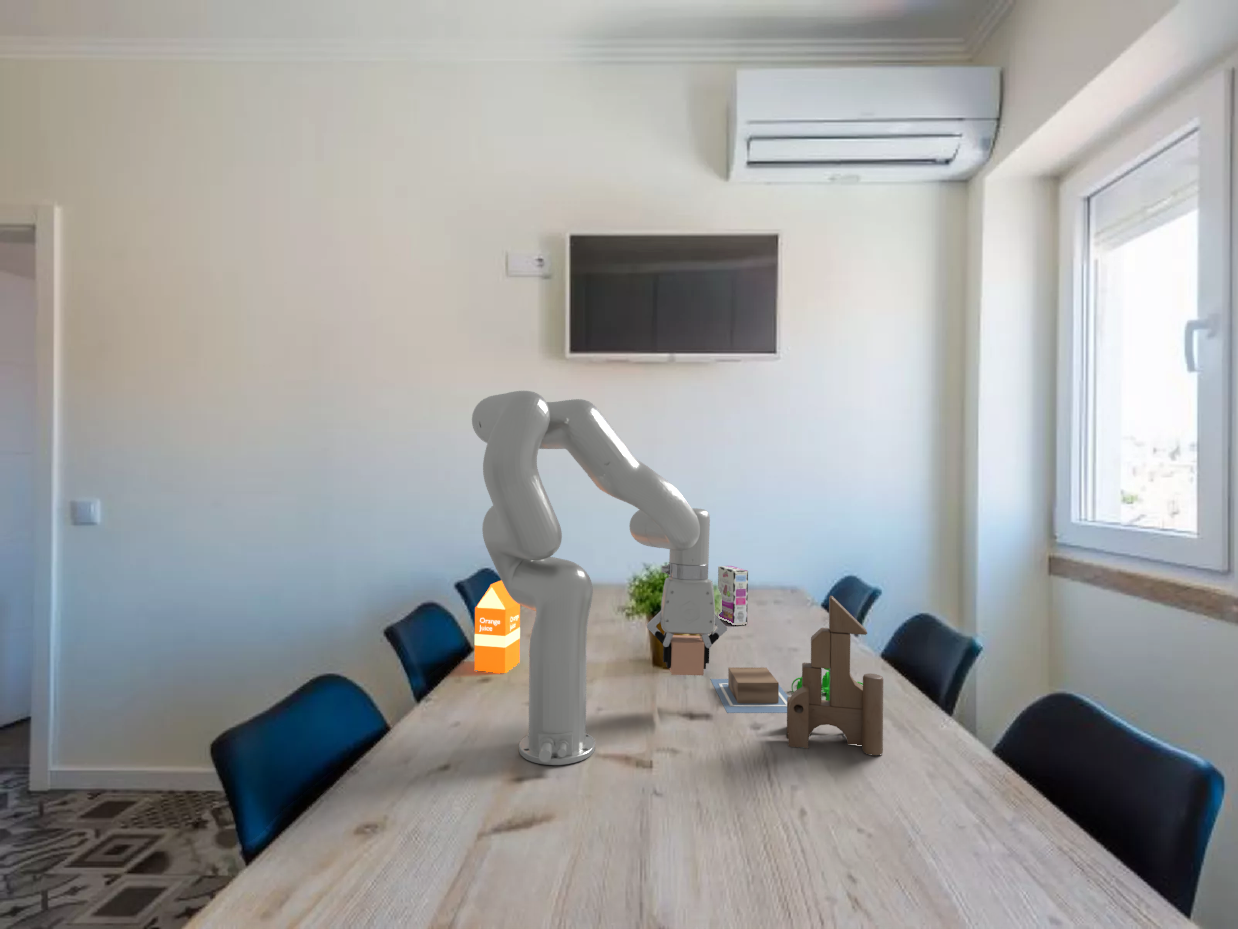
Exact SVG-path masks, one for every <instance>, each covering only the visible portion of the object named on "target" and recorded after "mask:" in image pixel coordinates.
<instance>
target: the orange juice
mask: <svg viewBox="0 0 1238 929" xmlns="http://www.w3.org/2000/svg"><path fill="white" fill-rule="evenodd" d="M520 626H521V605H519V604H518V603H516V602H515V601H514V600H513V599H512V598H511V597H510V595H509V594H508V592H507V590H506V589H505V587H504V585H503V582H502V580H501V579H500V580H498V581H496V582H493V583H491V584H490V585H489V587H488V589H487V591H486V592H485V594H484V595H483V596H482V598H481V599H480V601H479V602H478V603H477V605H476V606H475V607H474V671H475V670H478V671H486V672H485V673H488V672H493V673H492V674H500V673H506V674H507V673H508V672H509V670H510V671H511V670H512V669H514V668H515V667H516V666H518V665H519V664H520V662H521V661H520V656H521V655H520V651H521V650H520V646H521V645H520V643H521V642H520V640H521V627H520ZM518 663H519V664H518ZM517 664H518V665H517ZM513 667H514V668H513Z"/></svg>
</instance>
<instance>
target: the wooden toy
mask: <svg viewBox="0 0 1238 929" xmlns="http://www.w3.org/2000/svg"><path fill="white" fill-rule="evenodd" d="M828 603H829V604H828V606H829V607H828V627H820V628H819V629H818V630H817V631H816V632H815V633H814V634H813V635H811V637H810V662H802V664H801V672H802V673H801V677H802V687H801V688H799V689H798V690H797V689H796V690H795V691H793V693H792V694H791V696H788V698H787V713H786V738H787V740H788V745H787V746H788V747H790V748H799V747H804V748H803V749H809V740H810V736H811V733H812V732H813V731H814V730H815V729H816V728H818V727H820V726H827V725H829V726H833V727H836V728H837V729H839V731H841V732H842V733H843V735H844V737H845V738H846V742H847V745H848V744H857V745H862V747H861V748H862V750H861V751H862V752H863V751H864V752H865V753H867V754H872V755H880V754H882V755H883V752H884V677H883V676H882V675H880V674H877V673H865V674H863V676H862V683H863V685H862V684H859V683H858V682H859V681H856V680H855V679H854V678H853V676H852V674H851V635H863V636H864V635H865V636H866V635H868V631H867V629H866V627H864V626H863V625H862V624H861V622H859V621H858V620H857V619H856V618H855V617H854V616H853V615H852V614H851V613H850V612H849V611H848V610H847V609H846V608H845V606H843V605H842V604H841V603H840V602H839V601H838V600H837V599H836V598H835V597H834V596H833V595H829V598H828ZM824 668H826V669H829V668H830V695H829V700H830V701H828V700H826V699H822V693H821V691H822V690H821V689H822V688H821V687H822V679H823V676H822V671H823V669H824ZM864 752H863V753H864ZM865 753H864V754H865ZM867 754H866V755H867ZM880 756H881V755H880Z"/></svg>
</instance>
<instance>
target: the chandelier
mask: <svg viewBox="0 0 1238 929" xmlns="http://www.w3.org/2000/svg"><path fill="white" fill-rule="evenodd" d="M823 670H825V675H823V676H822V683H821V694H823V693H826V694H825V700H828V701H830V700H829V695H830V668H829V669H826V668H823ZM796 681H797V683H796ZM857 682H858V683H859V684H861V685H862V686H863V682H860V681H857ZM795 683H796V690H798V689H799V688H801V687H802V676H800V677H796V678H795V679H794V680H793V681H792V683H791V691H792V692H793V693H794V689H793V687H794V684H795Z"/></svg>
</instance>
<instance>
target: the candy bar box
mask: <svg viewBox="0 0 1238 929" xmlns="http://www.w3.org/2000/svg"><path fill="white" fill-rule="evenodd" d="M717 567H718V572H717V573H718V575H717V590H718V589H719V591H720V593H721V595H722V612H721V613H720V614H719V616H720V617H722V618H724V619H727V620H729V621H731V622H732V623H742V622H747V623H748V602H749V601H748V598H749V597H748V595H749V594H748V592H749V589H748V588H749V571H748V570H746V569H744V568H740V567H737V566H732V565H718V566H717Z"/></svg>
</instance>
